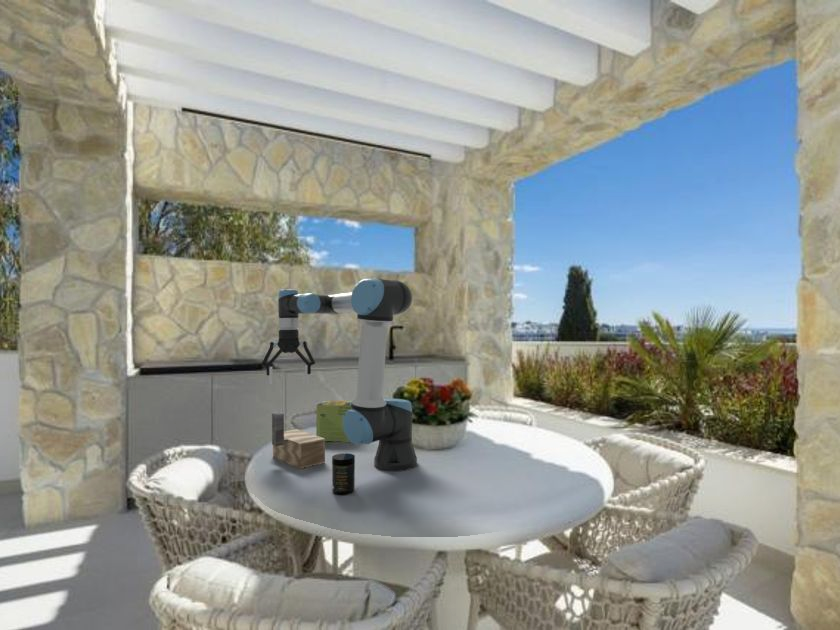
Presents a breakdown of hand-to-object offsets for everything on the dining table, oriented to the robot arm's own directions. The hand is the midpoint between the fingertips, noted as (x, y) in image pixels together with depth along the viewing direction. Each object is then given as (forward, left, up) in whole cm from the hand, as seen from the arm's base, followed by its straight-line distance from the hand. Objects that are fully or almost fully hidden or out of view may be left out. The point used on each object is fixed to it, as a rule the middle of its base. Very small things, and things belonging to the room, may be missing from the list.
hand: (288, 383), depth 185 cm
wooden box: (-13, +3, -26) cm, 30 cm away
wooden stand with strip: (-13, +6, -19) cm, 24 cm away
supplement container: (-51, +9, -27) cm, 59 cm away
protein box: (+3, -24, -27) cm, 36 cm away
